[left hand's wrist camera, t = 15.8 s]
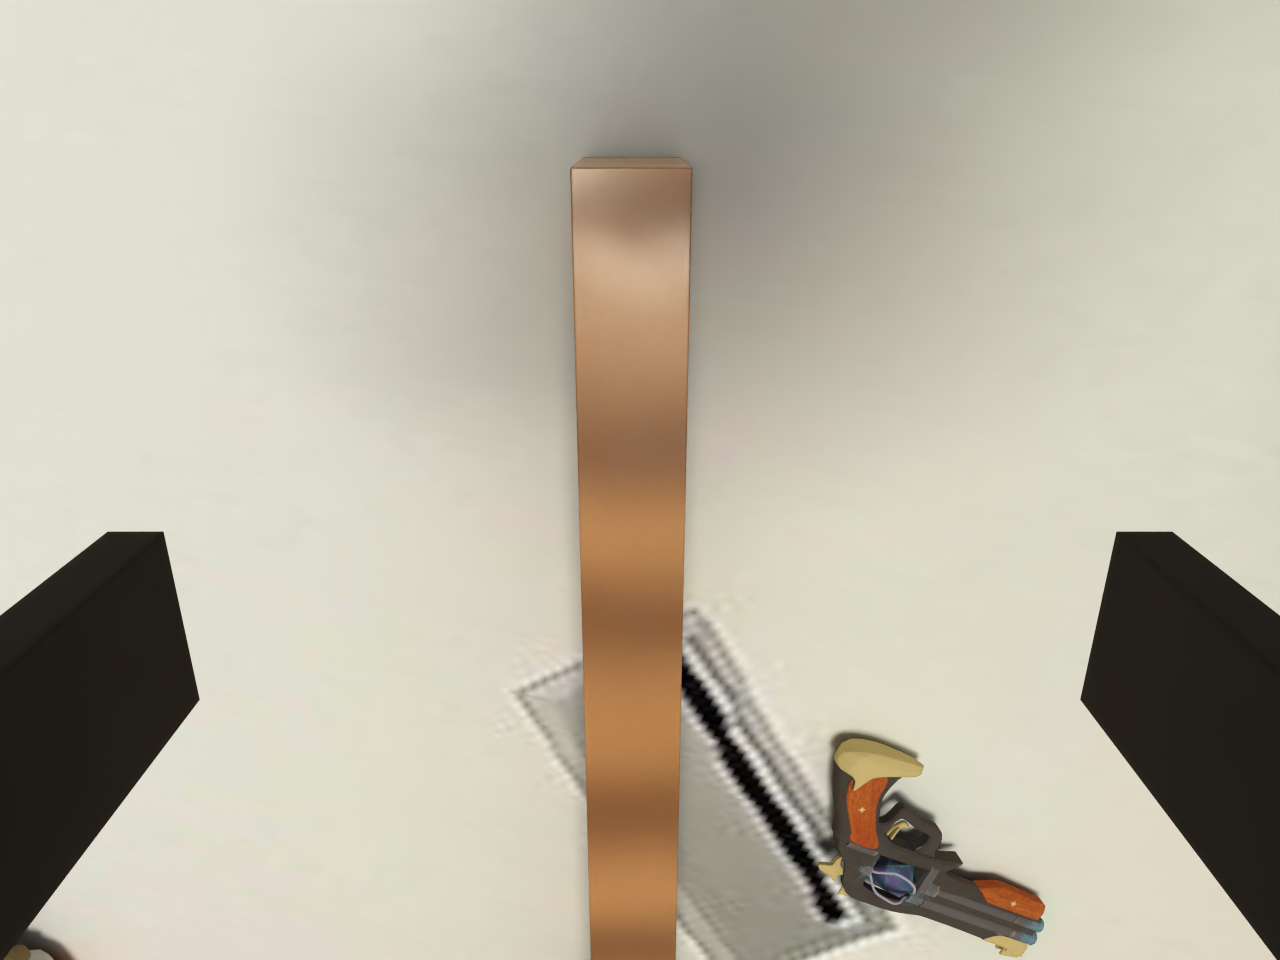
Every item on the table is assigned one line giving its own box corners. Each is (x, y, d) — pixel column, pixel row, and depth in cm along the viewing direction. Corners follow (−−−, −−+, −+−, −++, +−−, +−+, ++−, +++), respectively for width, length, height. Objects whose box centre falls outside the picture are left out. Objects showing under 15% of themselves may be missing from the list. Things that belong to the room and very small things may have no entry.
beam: (582, 157, 41) (570, 167, 33) (681, 157, 41) (692, 167, 33) (601, 1063, 64) (597, 1201, 56) (665, 1063, 64) (670, 1201, 56)
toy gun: (856, 748, 50) (771, 886, 53) (1116, 850, 55) (1027, 973, 57) (840, 721, 53) (759, 854, 55) (1090, 821, 58) (1006, 940, 60)
